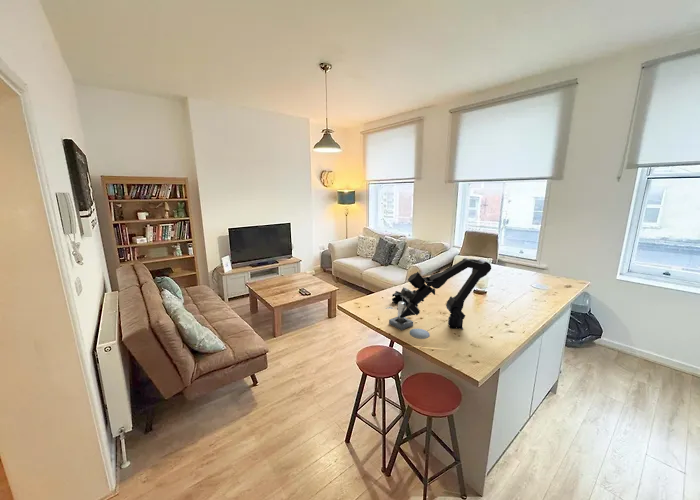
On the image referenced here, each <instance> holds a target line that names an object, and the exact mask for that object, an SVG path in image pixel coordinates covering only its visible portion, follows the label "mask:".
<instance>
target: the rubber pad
mask: <svg viewBox="0 0 700 500" xmlns="http://www.w3.org/2000/svg"><path fill="white" fill-rule="evenodd" d="M409 335H410V336H411V337H413V338H415V339H421V340H422V339H423V340H424V339H428V338H430V336H431V334H430V332H429V331H428V330H425V329H423V328H412V329H410V330H409Z"/></svg>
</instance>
